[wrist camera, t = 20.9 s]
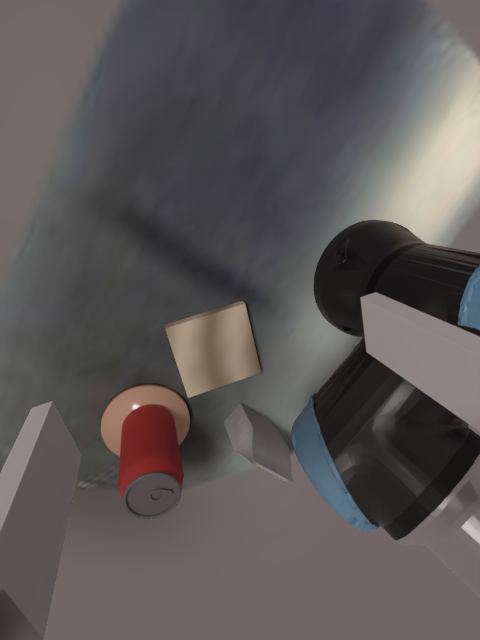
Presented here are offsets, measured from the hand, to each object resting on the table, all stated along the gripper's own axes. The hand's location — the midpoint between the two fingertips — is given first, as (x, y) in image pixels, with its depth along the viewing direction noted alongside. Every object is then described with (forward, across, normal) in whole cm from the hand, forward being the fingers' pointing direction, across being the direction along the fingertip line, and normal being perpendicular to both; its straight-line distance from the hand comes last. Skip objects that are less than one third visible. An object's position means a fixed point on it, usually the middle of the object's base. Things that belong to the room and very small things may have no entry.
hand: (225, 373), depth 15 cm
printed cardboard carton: (+29, -4, +26) cm, 39 cm away
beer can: (+28, +9, +20) cm, 35 cm away
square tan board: (+29, -2, +13) cm, 31 cm away
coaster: (+29, +9, +20) cm, 36 cm away
